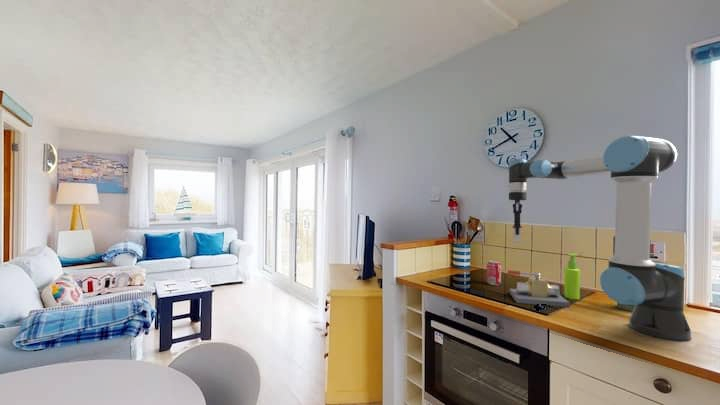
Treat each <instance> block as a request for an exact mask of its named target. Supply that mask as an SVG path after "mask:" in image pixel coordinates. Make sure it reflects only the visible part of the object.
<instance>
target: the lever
mask: <svg viewBox="0 0 720 405" xmlns="http://www.w3.org/2000/svg"><path fill="white" fill-rule="evenodd" d="M507 274H508V275H515V276H516V275H518V276H521V275H525V276H533V278H536V277H538V278H542V273H539V272H524V271H520V270H515V269H514V270H513V269H508V270H507Z"/></svg>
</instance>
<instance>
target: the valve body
mask: <svg viewBox="0 0 720 405" xmlns="http://www.w3.org/2000/svg"><path fill="white" fill-rule="evenodd" d="M516 289H517V293H518V294H527V295H529V296H534V297H546V298H547V297H550V296H553V297H559V295H561V293H560V287H559V285H558V284H549V282H548V281H547V280H546V279H545V278H543V277H528V281H527V280H526V282H521V281H519V282H516Z"/></svg>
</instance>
